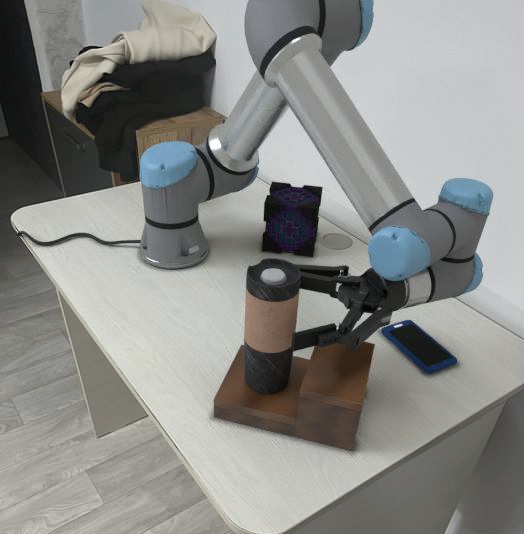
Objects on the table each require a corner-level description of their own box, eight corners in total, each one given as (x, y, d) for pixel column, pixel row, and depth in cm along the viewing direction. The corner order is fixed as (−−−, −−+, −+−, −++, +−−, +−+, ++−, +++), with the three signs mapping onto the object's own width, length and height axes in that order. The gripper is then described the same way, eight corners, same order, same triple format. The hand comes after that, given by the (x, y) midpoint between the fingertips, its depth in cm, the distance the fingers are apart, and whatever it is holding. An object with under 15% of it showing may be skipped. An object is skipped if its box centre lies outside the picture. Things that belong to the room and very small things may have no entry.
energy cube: (261, 251, 126) (264, 202, 118) (269, 227, 135) (272, 181, 127) (313, 257, 125) (318, 208, 117) (317, 233, 134) (322, 186, 126)
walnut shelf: (213, 417, 85) (212, 370, 79) (240, 361, 95) (241, 316, 89) (352, 451, 81) (363, 404, 74) (364, 389, 91) (375, 343, 85)
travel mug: (291, 396, 84) (303, 288, 71) (241, 394, 83) (244, 285, 71) (289, 364, 89) (300, 258, 77) (243, 362, 89) (246, 256, 76)
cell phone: (408, 321, 107) (409, 318, 106) (458, 363, 97) (459, 360, 97) (379, 330, 104) (379, 327, 103) (427, 375, 95) (428, 372, 94)
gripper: (437, 352, 79) (309, 389, 72) (349, 268, 97) (239, 291, 89) (450, 311, 75) (315, 345, 67) (356, 230, 92) (240, 251, 85)
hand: (271, 314), depth 78 cm, fingers open, 13 cm apart
